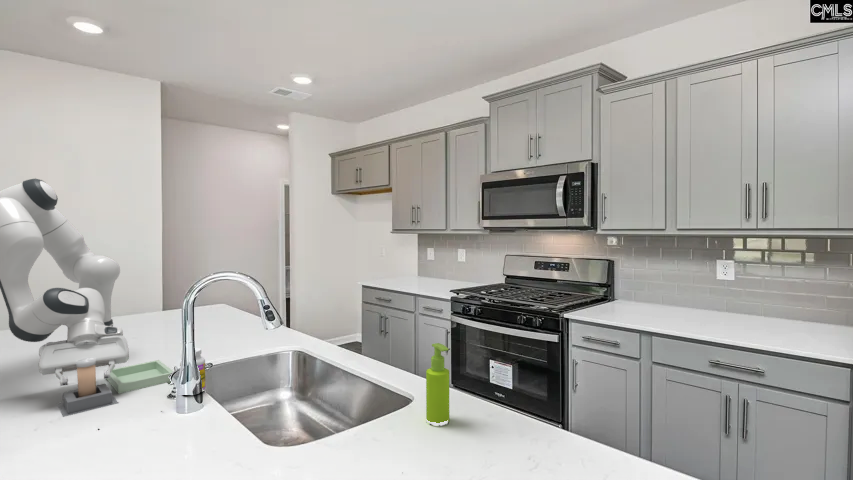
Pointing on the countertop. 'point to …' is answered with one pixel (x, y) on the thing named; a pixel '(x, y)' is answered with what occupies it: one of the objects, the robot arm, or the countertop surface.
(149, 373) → the parts tray
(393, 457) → the countertop surface
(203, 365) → the supplement bottle
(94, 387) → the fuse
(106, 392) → the socket block
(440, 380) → the soap dispenser
